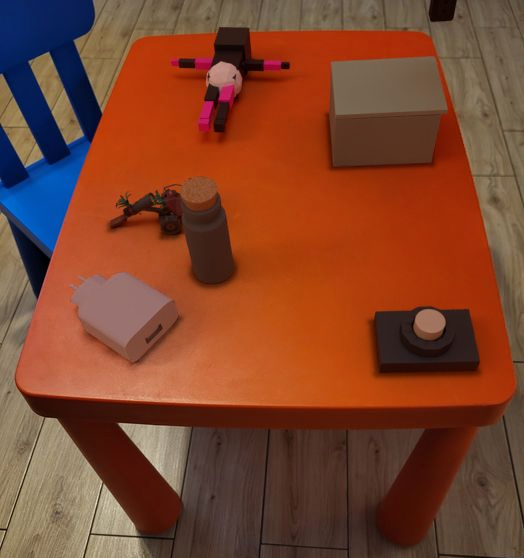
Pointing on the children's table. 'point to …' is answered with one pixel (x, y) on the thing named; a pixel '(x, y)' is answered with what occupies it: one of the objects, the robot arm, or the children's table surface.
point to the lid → (387, 88)
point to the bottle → (206, 230)
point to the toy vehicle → (154, 209)
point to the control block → (425, 343)
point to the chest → (382, 138)
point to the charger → (123, 312)
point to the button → (429, 324)
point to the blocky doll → (226, 73)
